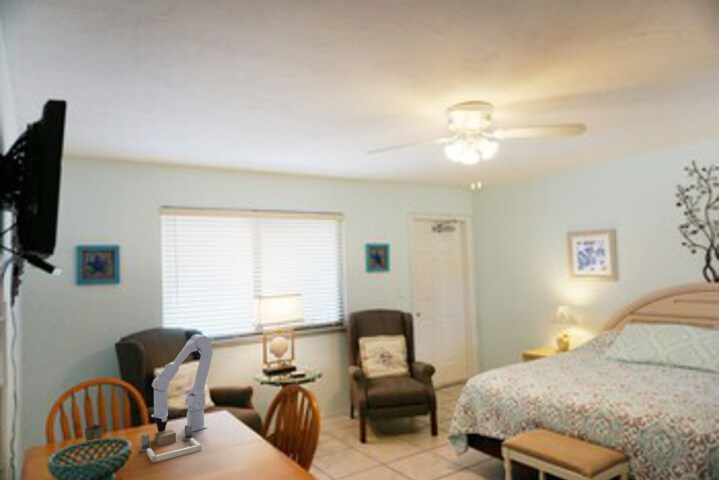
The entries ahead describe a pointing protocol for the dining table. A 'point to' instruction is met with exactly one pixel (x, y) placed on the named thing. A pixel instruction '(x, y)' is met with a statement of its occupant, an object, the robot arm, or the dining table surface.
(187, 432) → the post
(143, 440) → the post
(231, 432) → the dining table surface
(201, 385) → the robot arm
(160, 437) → the walnut block
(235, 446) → the dining table surface
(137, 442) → the dining table surface
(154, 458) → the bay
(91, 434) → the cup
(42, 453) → the dining table surface
